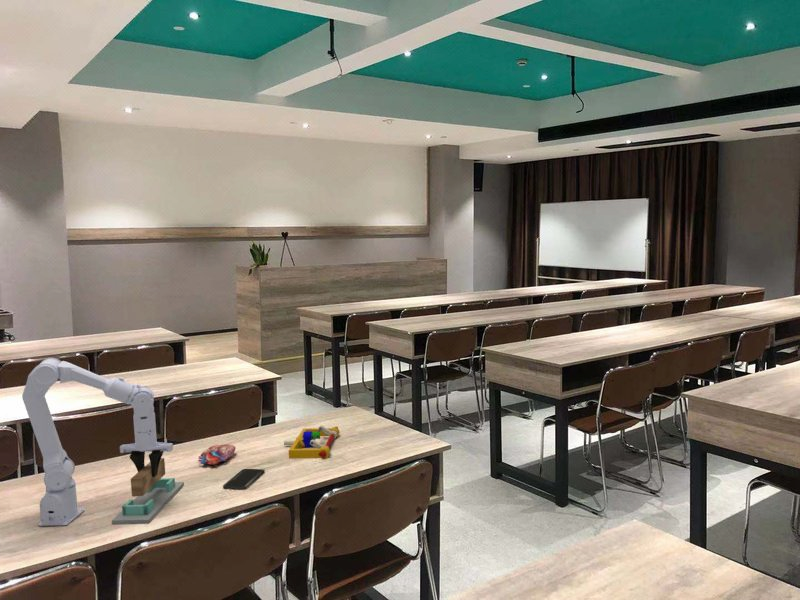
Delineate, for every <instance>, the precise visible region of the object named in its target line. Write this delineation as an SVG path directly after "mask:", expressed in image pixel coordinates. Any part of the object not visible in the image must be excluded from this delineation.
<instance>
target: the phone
mask: <svg viewBox="0 0 800 600" xmlns="http://www.w3.org/2000/svg"><path fill="white" fill-rule="evenodd" d="M264 474H265V469H263V468H262V469H261V468H260V469H259V468H257V469H256V468H244V469H243V468H242V469H241V470H240V471H239V472H237V473H236V474H235V475H234V476H232V477H231V478H230V479H229V480H228V481H226V482H225V483H224V484H223V485H222V489H223V490H231V489H233V490H235V491H245V490H246V491H247V489H249V488H250V487H251V486H252V485H253V484H254V483H256V481H257V480H259V479H260V478H261V477H262V476H263V475H264Z"/></svg>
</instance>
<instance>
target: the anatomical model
mask: <svg viewBox="0 0 800 600" xmlns="http://www.w3.org/2000/svg"><path fill="white" fill-rule="evenodd" d="M236 449H237V448H236V446H235V445H234V444H229V443H228V444H227V443H226V444H216V445H213V446H212V445H211V446H209V447H208V448H205V449H204V450H203V451H202V452H201V453H200V455H199V456H198V461H197V462H198V463H201V464H203V465H205V464H207V465H214V466H215V465H218V464H220V463H222V462H224V461H227V459H229V458H231V457H232V456H233V454H234V453H235V452H236Z"/></svg>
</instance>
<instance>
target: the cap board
mask: <svg viewBox="0 0 800 600" xmlns="http://www.w3.org/2000/svg"><path fill="white" fill-rule="evenodd" d="M183 485H184V486H185V482H184V481H175V477H162V478H161V479H160V480H159V481H158V482H157V483H156V484H155V485H154V486H153V487H152V488H151V489H150V490H149V491H148V492H146V493H145V494H144V495H143V496H135V497H134V499H128V500H127V502H125V503H124V504H122V507H121V509H122V510H121V511H120V512H119V513H118V514H117V515H116V516H115V517H114V518H113V519H112V520H111V524H112V525H129V524H131V525H133V524H135V525H136V524H138V525H139V524H150V523H151V522H152V521H153V520H154V519H155V517H156V516H157V515H158V514H159V513H160V512H161V511H162V510H163V509H162V508H165V507H166V505H167V504H168V503H169V502H170V501H171V500H172V499H173V498H174V497H175V496H176V495H177V494H178V493H179V491H180V490H181V489H182V488H183V487H184V486H183ZM182 486H183V487H182ZM173 496H174V497H173ZM172 497H173V498H172Z"/></svg>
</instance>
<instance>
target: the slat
mask: <svg viewBox="0 0 800 600" xmlns="http://www.w3.org/2000/svg"><path fill="white" fill-rule="evenodd" d="M165 461H166V460H165V457H161V460H160V463H159V467H158V473H157V475H156V476H155V477H152V472H151V463H150V461H149V462H148V463H147V464H145V467H144V468H143V469H141V470H140V471H139V472H138V471H137V473H136V474H135V475H134V476H132V477H130V489H131V496H132V497H137V496H143V495H144V494H145V493H146V492H148V491H149V490H150V489H151V488H152V487H153V486H154V485H155V484H156V483H157V482H158V481H159V480H160V479H161V478H164V476H165V475H166V464H165Z"/></svg>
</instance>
